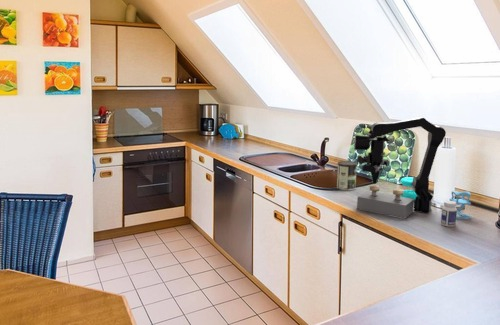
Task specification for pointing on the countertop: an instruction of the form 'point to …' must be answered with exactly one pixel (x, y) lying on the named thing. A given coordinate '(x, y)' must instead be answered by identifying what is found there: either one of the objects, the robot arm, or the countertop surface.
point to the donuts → (408, 193)
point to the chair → (461, 202)
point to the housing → (385, 204)
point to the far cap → (374, 189)
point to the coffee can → (346, 175)
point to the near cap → (397, 194)
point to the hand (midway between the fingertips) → (374, 183)
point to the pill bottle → (449, 214)
